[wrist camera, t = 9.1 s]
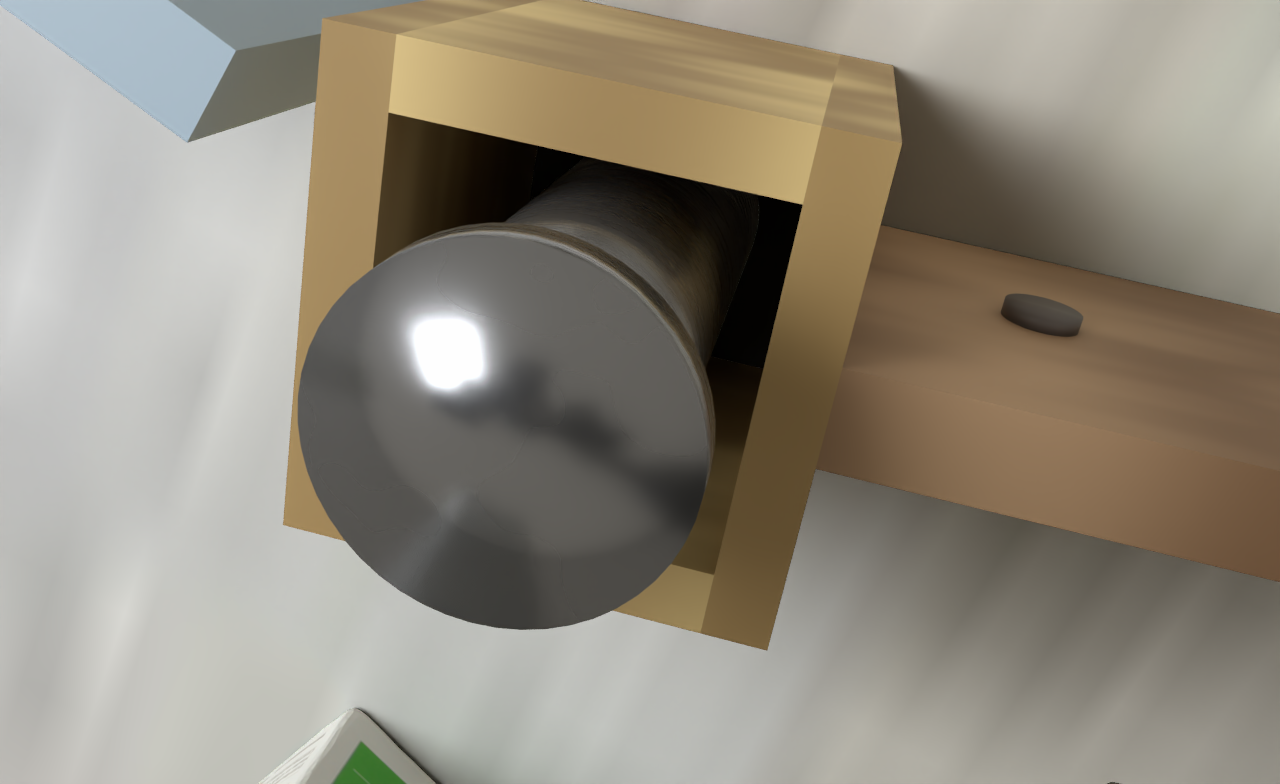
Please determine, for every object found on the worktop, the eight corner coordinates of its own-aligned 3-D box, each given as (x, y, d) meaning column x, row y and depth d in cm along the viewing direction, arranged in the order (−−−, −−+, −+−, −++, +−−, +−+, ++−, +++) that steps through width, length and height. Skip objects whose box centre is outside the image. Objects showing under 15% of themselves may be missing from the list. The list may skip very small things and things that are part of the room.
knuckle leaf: (1588, 211, 17) (2007, 381, 11) (1409, 569, 20) (1669, 884, 13) (511, -15, 19) (322, 18, 12) (462, 341, 21) (283, 524, 15)
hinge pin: (808, 120, 19) (748, 295, 10) (755, 346, 20) (663, 672, 11) (572, 68, 19) (313, 194, 10) (536, 295, 21) (283, 573, 12)
